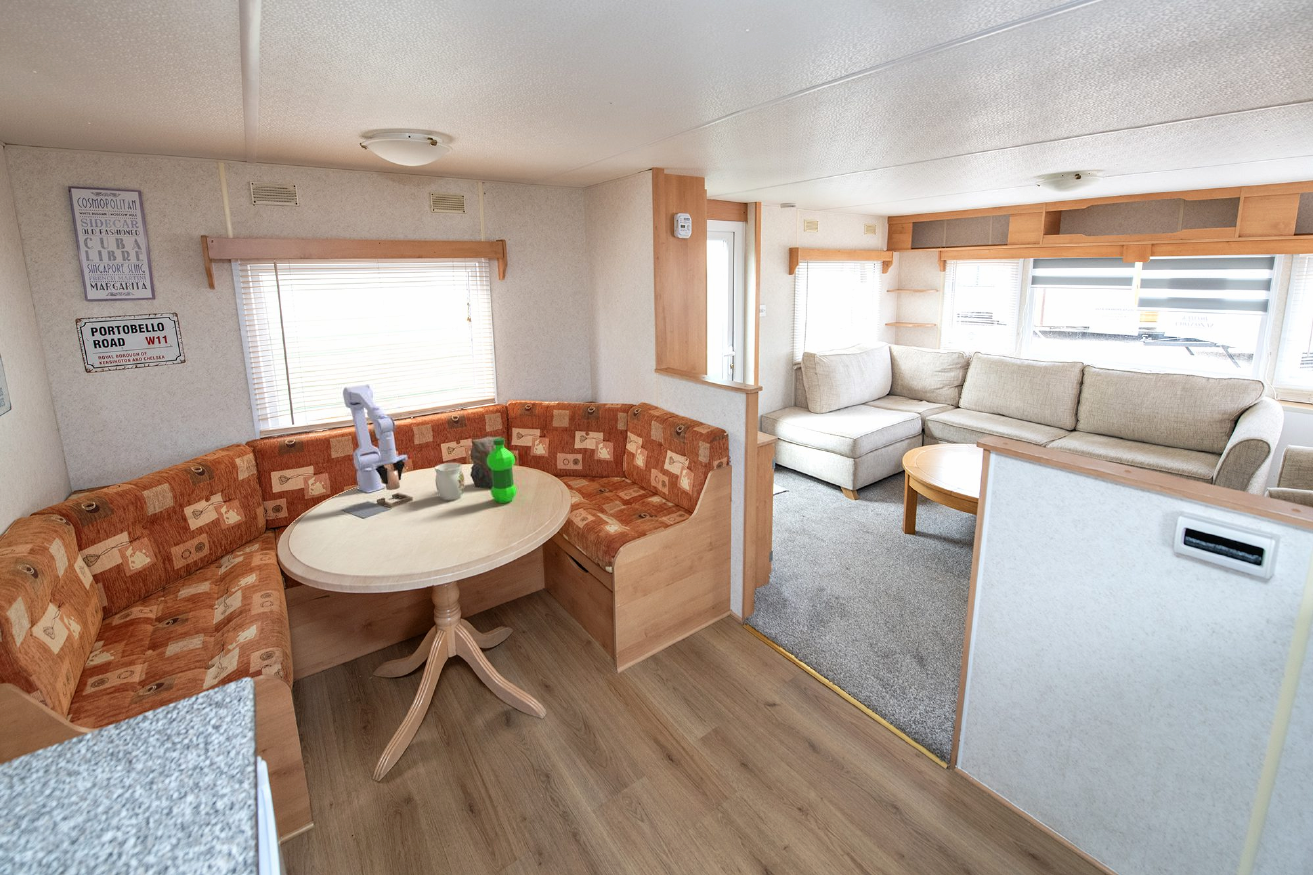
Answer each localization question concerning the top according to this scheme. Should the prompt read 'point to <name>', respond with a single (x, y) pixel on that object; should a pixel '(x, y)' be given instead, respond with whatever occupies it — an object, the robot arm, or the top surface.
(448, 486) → the pitcher
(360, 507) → the mat
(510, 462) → the plastic bottle
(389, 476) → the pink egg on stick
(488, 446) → the owl
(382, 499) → the holder
